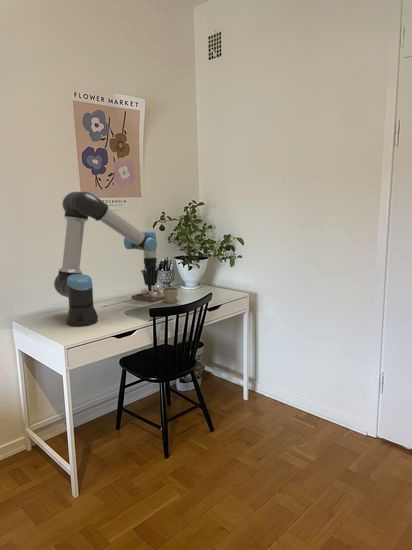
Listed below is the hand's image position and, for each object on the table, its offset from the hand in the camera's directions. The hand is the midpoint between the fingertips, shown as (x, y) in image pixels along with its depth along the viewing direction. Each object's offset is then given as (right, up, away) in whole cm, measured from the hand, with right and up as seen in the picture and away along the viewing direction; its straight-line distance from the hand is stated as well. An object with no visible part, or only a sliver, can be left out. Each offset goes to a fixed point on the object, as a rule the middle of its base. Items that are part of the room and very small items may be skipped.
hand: (151, 296), depth 253 cm
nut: (-1, -2, -2) cm, 3 cm away
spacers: (+3, -1, +4) cm, 5 cm away
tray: (+2, -2, +3) cm, 4 cm away
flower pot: (+12, -4, -7) cm, 14 cm away
